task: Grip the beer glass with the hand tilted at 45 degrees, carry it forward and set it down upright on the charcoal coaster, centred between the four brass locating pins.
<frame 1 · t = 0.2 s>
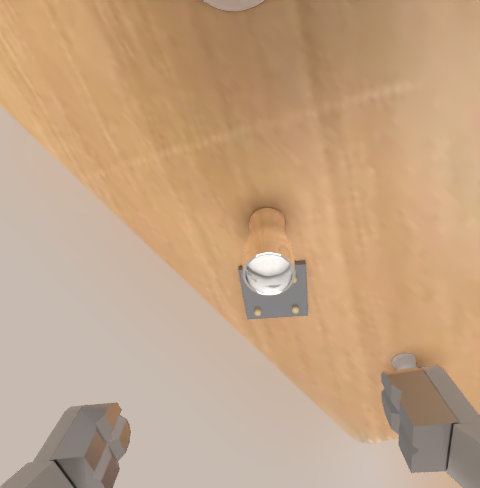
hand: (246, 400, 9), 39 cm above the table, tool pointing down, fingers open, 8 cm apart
chalice: (403, 360, 63), on the table
beer glass: (266, 223, 49), on the table
coaster: (274, 289, 55), on the table
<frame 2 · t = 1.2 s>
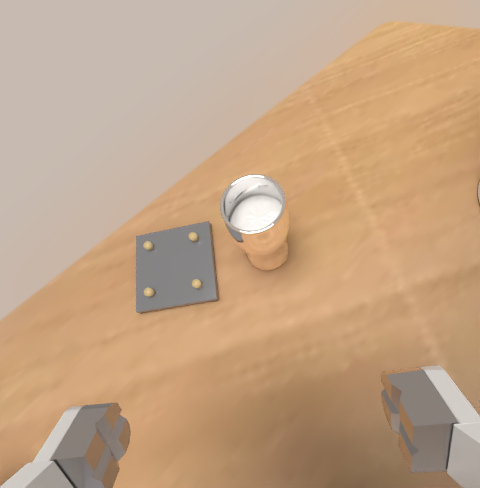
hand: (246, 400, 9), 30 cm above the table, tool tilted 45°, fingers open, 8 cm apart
beer glass: (267, 251, 42), on the table
coaster: (176, 267, 44), on the table
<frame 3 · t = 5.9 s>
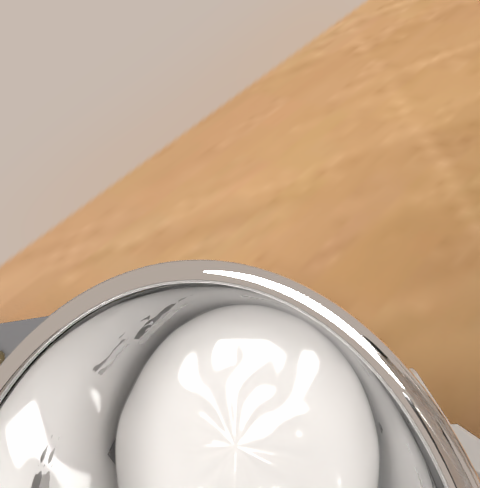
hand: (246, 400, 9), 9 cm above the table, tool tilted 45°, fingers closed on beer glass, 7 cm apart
beer glass: (270, 388, 17), on the table, touching gripper
coaster: (53, 413, 18), on the table
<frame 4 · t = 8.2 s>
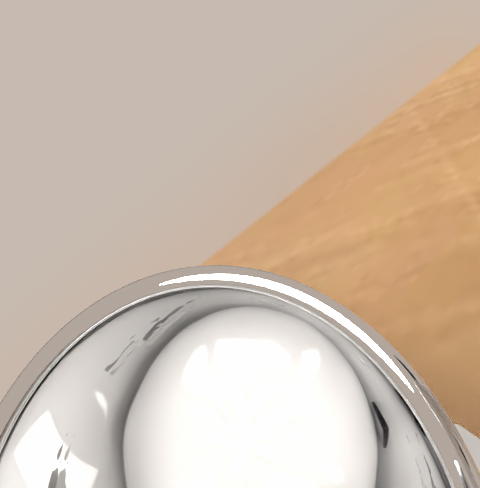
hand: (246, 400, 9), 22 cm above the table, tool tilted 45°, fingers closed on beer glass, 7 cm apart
beer glass: (266, 389, 17), point 13 cm above the table, touching gripper
when the fingers open (12 cm above the table, at t = 10.9 s): beer glass drops 2 cm, resting on coaster.
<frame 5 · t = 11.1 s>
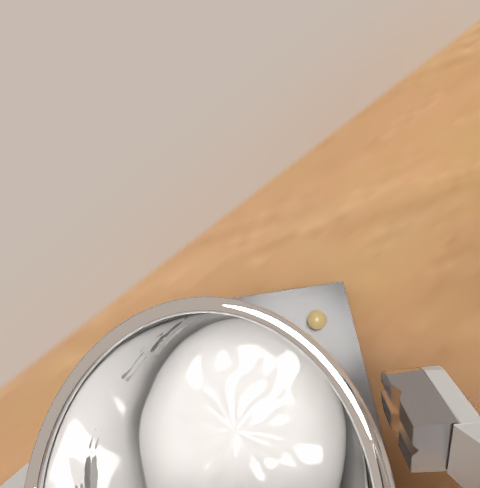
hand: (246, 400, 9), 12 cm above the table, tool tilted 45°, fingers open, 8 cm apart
beer glass: (266, 387, 19), point 1 cm above the table, touching coaster
coaster: (272, 383, 20), on the table
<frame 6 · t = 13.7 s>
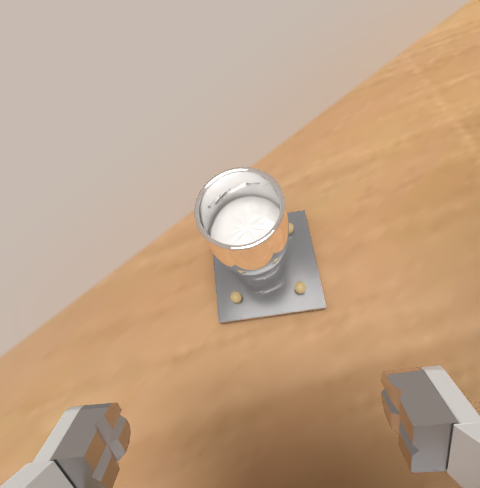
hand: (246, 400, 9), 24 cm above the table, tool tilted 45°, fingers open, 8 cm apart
beer glass: (260, 265, 34), point 1 cm above the table, touching coaster
coaster: (264, 266, 35), on the table
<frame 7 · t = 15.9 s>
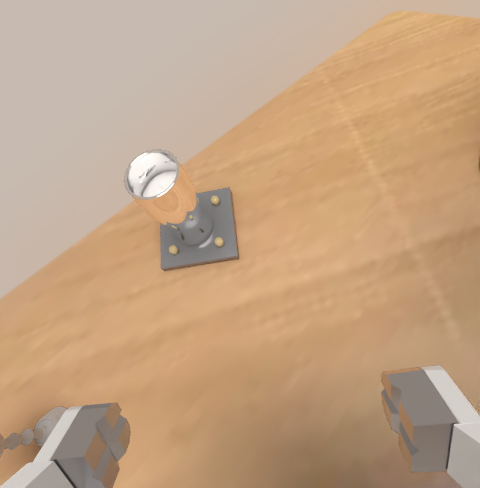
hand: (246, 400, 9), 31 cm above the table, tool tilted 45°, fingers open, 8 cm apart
chalice: (57, 427, 40), on the table
beer glass: (194, 228, 46), point 1 cm above the table, touching coaster
coaster: (198, 229, 47), on the table
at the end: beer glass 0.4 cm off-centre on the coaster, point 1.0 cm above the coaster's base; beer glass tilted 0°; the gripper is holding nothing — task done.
